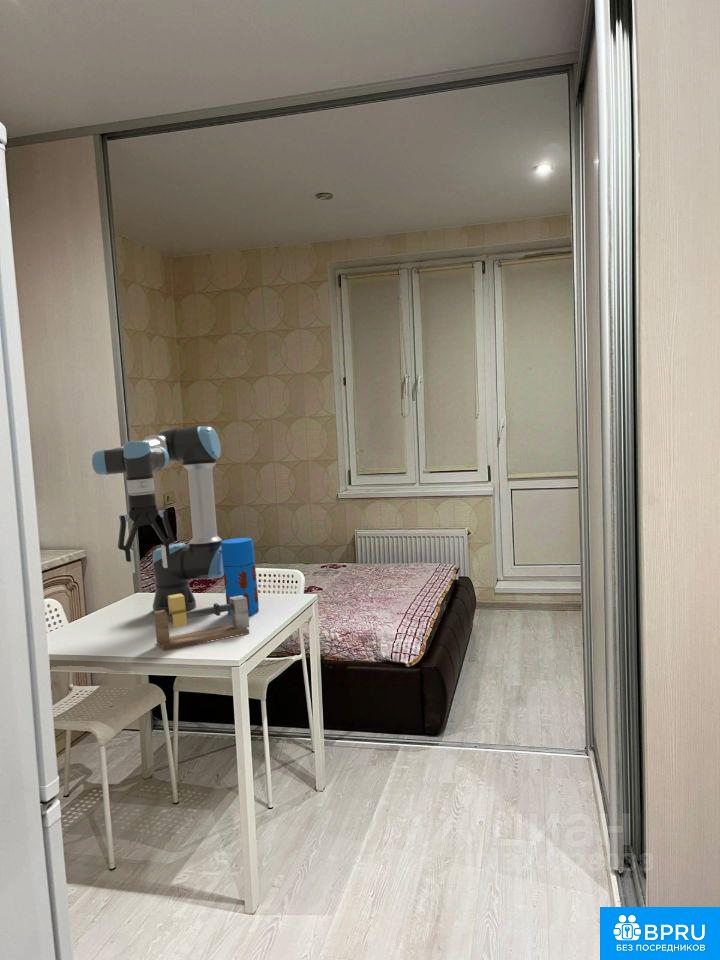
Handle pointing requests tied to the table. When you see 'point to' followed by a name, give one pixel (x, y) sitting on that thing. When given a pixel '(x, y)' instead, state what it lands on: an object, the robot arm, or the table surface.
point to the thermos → (240, 571)
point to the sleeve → (177, 610)
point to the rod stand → (236, 628)
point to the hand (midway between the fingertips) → (149, 569)
